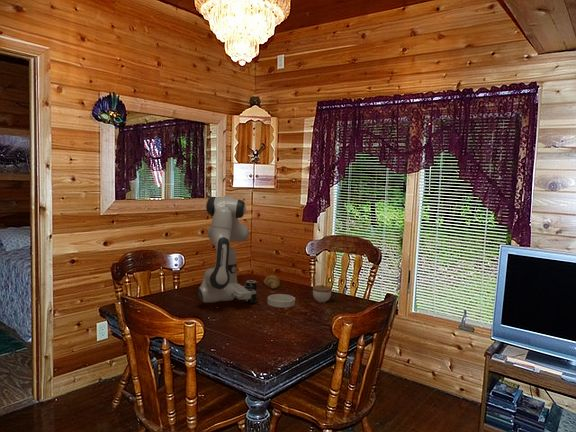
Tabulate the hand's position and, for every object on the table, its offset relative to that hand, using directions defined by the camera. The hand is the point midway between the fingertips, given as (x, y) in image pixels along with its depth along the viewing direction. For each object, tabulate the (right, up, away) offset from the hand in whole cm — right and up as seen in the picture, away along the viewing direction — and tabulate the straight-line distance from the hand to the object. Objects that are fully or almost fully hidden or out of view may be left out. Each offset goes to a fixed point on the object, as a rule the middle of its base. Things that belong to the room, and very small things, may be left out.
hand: (252, 289), depth 231 cm
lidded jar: (+39, -8, +10) cm, 41 cm away
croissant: (+9, -4, +39) cm, 40 cm away
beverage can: (-1, -7, 0) cm, 7 cm away
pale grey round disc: (+16, -8, +2) cm, 18 cm away
